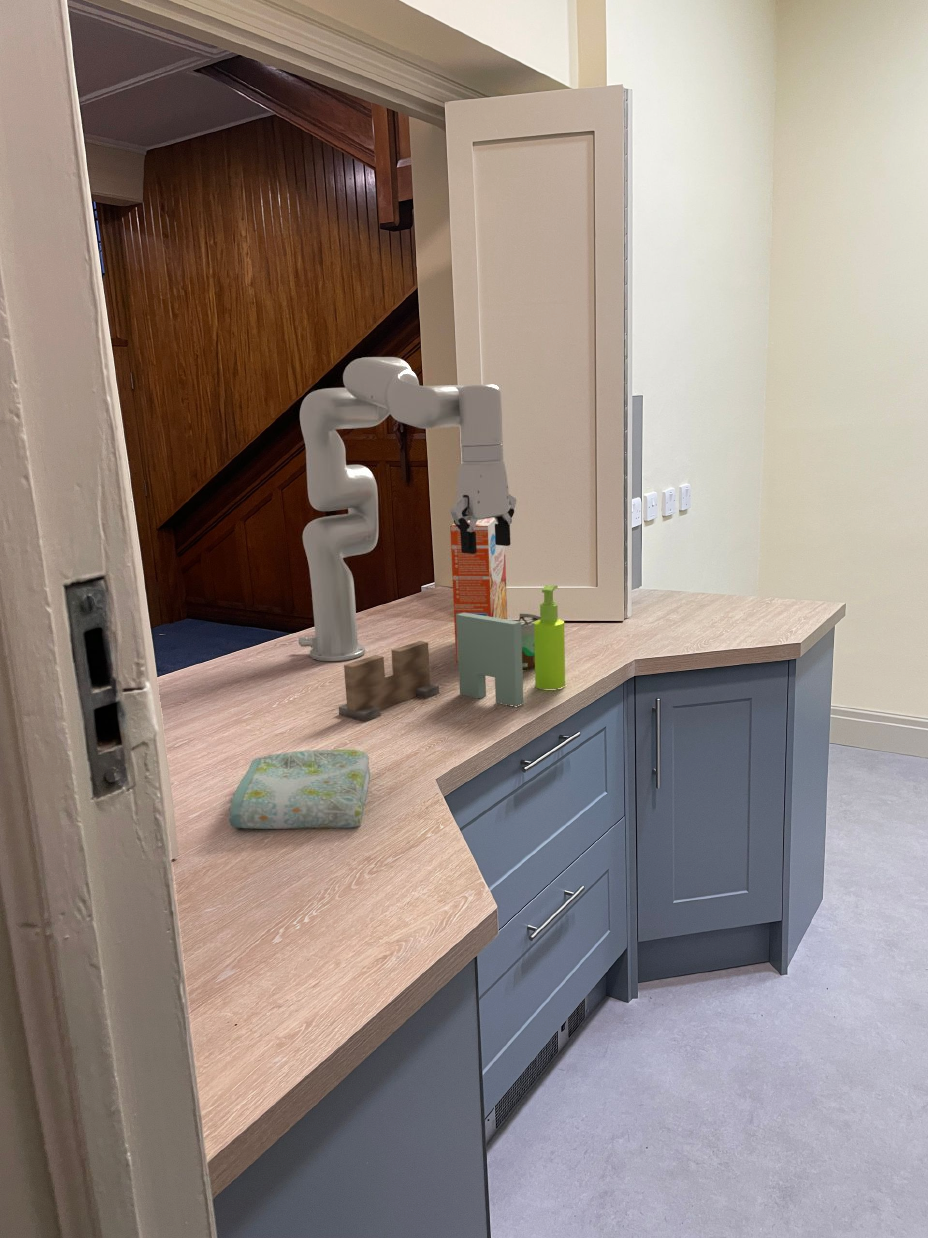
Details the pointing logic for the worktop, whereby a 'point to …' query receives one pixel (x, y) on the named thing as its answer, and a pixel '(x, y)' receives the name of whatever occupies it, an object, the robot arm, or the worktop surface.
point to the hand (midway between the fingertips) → (486, 549)
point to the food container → (528, 640)
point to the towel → (303, 790)
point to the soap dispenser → (549, 644)
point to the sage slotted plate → (490, 657)
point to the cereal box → (479, 575)
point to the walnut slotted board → (387, 681)
